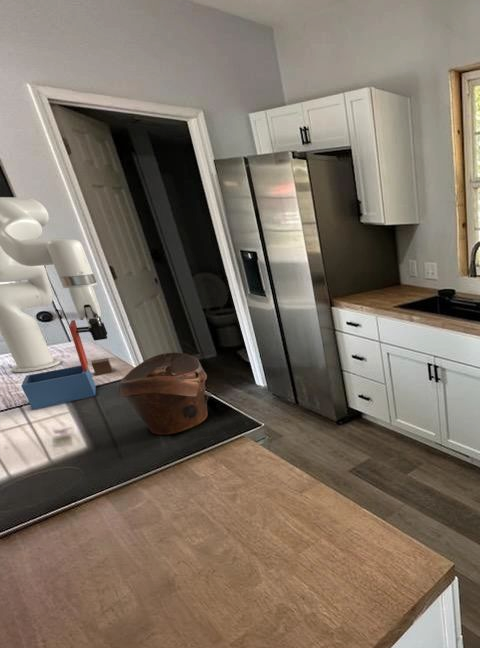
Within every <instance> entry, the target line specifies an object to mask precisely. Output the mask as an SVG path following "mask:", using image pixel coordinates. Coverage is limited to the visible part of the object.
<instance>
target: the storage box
mask: <svg viewBox="0 0 480 648" xmlns="http://www.w3.org/2000/svg"><path fill="white" fill-rule="evenodd" d="M20 386H21V389H22V390H23V393H24V395H25V397H26V399H27V401H28V403H29V405H30V407H31V409H32V410H38V409H42V408H46V407H52V406H57V405H60V404H65V403H69V402H73V401H79V400H82V399H88V398H93V397H96V391H97V389H96V388H97V385H96V382H95V381H94V378H93V376H92V373H91V370H90V369H89V366H87V372H83V369H82V366H81V365H76V366H75V365H74V366H69V367H64V368H59V369H53V370H48V371H44V372H43V371H42V372H38V373H33V374H27V375H25V377H24V379H23V381H22V383H21V385H20Z"/></svg>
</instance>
